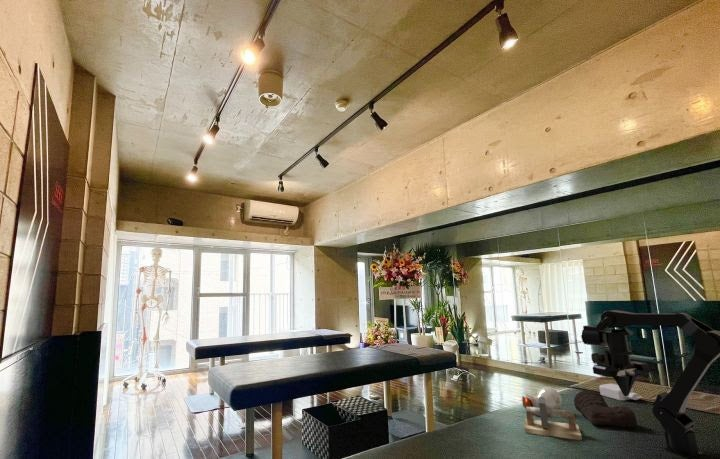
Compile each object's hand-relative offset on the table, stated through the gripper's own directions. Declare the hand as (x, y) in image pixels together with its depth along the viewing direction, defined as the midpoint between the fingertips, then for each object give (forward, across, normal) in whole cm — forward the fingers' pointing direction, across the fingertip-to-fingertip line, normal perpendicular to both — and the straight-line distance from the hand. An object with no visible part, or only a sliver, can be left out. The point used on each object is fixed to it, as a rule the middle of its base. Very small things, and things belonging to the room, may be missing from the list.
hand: (625, 395), depth 115 cm
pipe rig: (+13, +20, -13) cm, 27 cm away
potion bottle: (+13, +8, -30) cm, 34 cm away
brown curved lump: (+13, -5, -14) cm, 20 cm away
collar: (+11, +22, -14) cm, 28 cm away
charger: (+14, -37, -33) cm, 51 cm away
